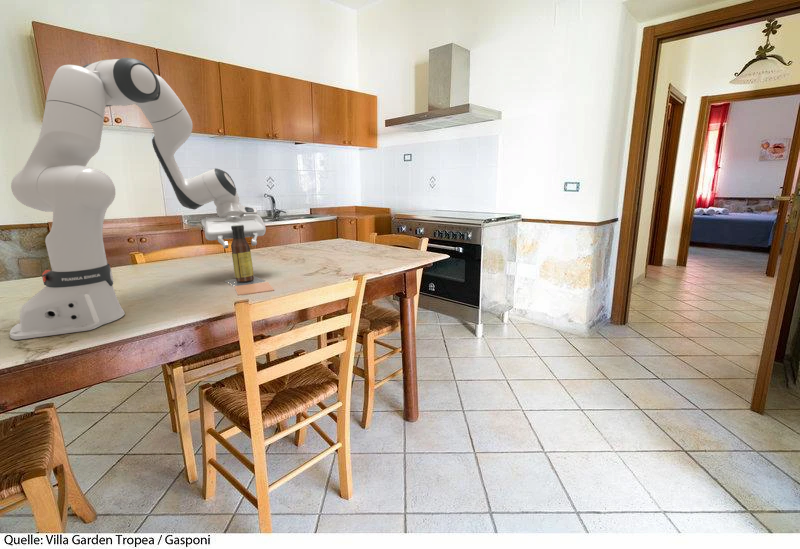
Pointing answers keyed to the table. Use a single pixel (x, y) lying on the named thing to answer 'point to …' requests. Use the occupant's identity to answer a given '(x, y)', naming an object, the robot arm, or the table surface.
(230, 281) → the slate tile
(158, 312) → the table surface
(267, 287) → the terracotta tile
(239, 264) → the sauce bottle
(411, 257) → the table surface
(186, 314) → the table surface
